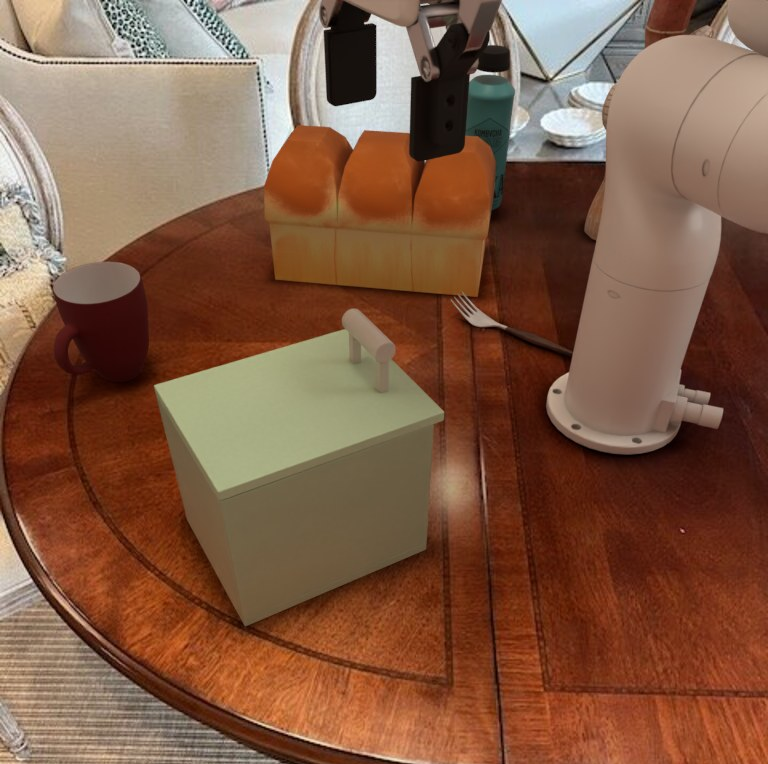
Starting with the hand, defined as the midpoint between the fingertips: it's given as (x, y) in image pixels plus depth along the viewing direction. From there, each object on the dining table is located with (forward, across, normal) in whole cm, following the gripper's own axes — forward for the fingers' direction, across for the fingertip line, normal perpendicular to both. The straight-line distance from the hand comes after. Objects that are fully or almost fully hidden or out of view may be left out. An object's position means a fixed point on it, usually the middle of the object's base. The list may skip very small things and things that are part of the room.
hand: (391, 126), depth 45 cm
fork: (+31, +16, -25) cm, 42 cm away
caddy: (+30, 0, +8) cm, 31 cm away
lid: (+17, 0, +7) cm, 19 cm away
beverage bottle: (+31, +43, -38) cm, 65 cm away
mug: (+30, +29, +15) cm, 45 cm away
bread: (+31, +37, -20) cm, 52 cm away
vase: (+31, +29, -52) cm, 66 cm away
